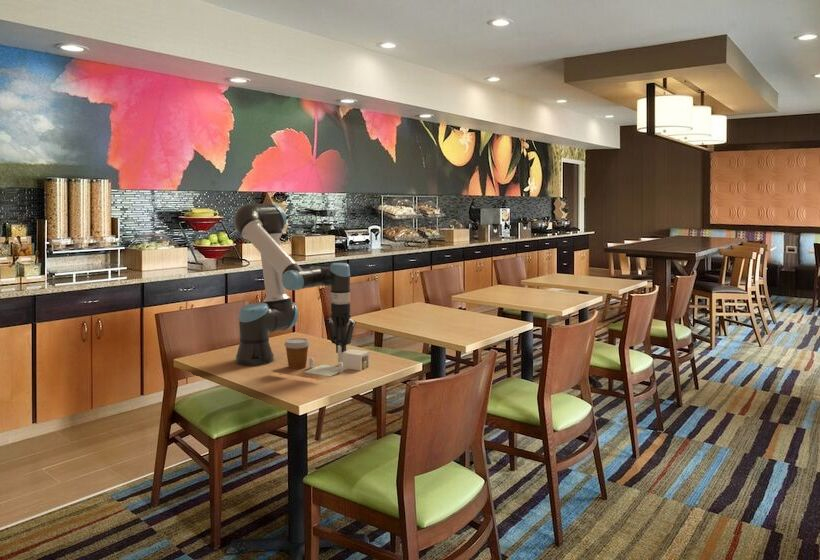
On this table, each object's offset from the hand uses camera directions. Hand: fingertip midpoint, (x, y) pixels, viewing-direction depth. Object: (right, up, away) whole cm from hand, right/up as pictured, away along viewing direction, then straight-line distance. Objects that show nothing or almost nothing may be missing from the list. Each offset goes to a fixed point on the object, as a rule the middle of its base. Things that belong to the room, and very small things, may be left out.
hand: (341, 361), depth 250 cm
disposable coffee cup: (-17, -3, -3) cm, 17 cm away
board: (-1, -4, -6) cm, 7 cm away
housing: (+6, -2, -3) cm, 7 cm away
